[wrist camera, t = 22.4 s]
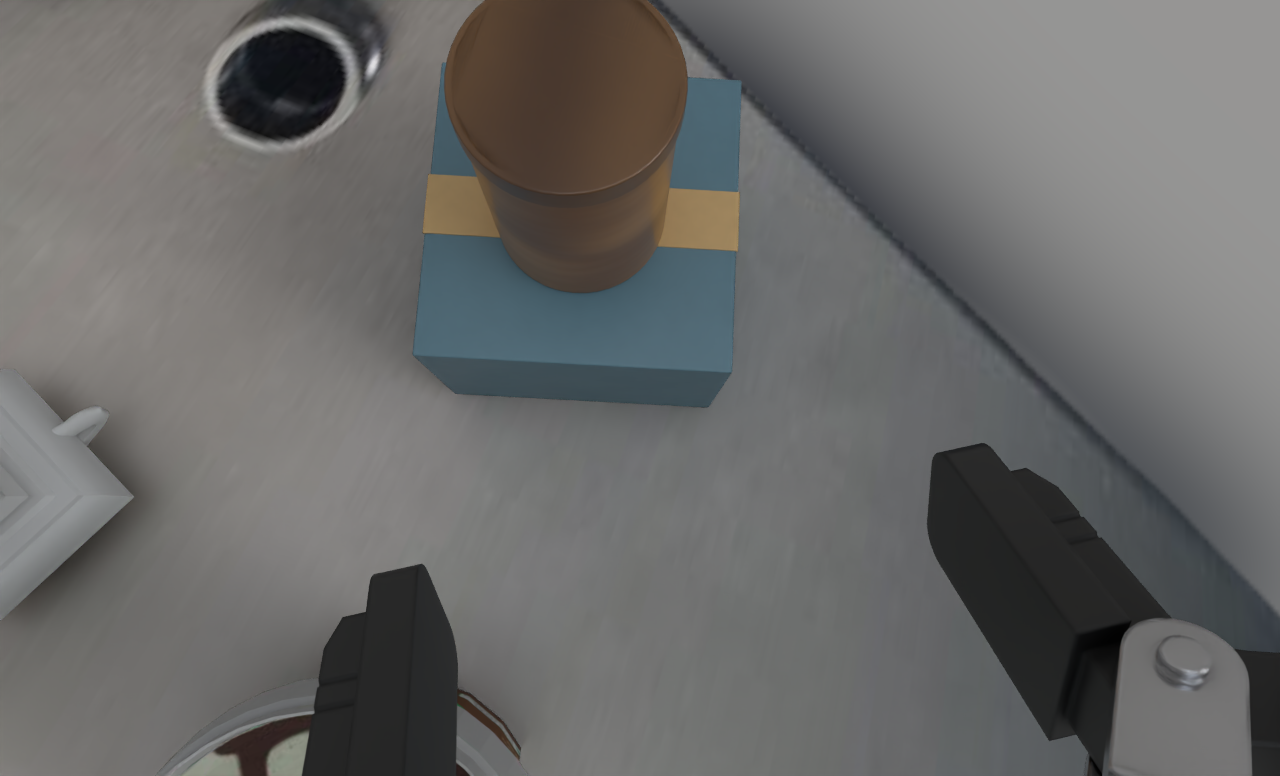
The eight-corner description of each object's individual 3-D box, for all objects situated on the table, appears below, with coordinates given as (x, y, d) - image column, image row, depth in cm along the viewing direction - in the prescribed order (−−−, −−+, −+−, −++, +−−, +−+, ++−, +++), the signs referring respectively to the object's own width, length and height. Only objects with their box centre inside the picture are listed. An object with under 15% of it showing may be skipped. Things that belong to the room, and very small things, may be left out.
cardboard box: (718, 169, 35) (743, 79, 28) (710, 407, 33) (734, 372, 27) (474, 155, 35) (439, 60, 28) (453, 393, 33) (409, 355, 26)
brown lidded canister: (671, 137, 28) (693, -22, 20) (663, 301, 27) (682, 202, 19) (501, 126, 28) (455, -38, 20) (486, 291, 27) (432, 187, 19)
